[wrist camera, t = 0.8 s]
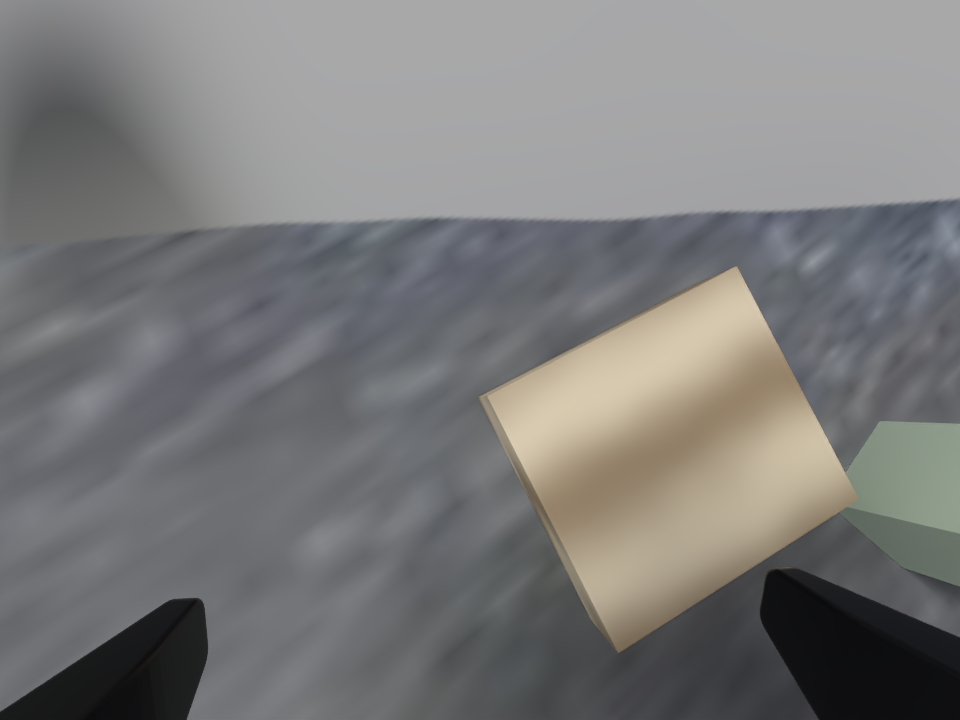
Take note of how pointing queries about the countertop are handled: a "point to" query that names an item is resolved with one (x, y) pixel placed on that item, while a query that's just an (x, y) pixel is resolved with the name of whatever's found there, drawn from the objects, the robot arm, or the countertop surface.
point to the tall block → (910, 495)
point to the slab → (668, 455)
